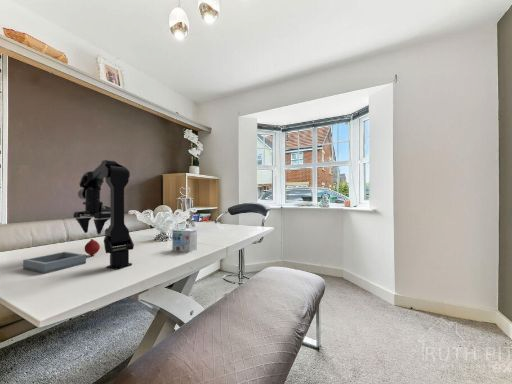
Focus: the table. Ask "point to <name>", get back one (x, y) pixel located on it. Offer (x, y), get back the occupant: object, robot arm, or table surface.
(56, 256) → the tray
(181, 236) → the light bulb box
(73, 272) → the table surface
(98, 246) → the onion
